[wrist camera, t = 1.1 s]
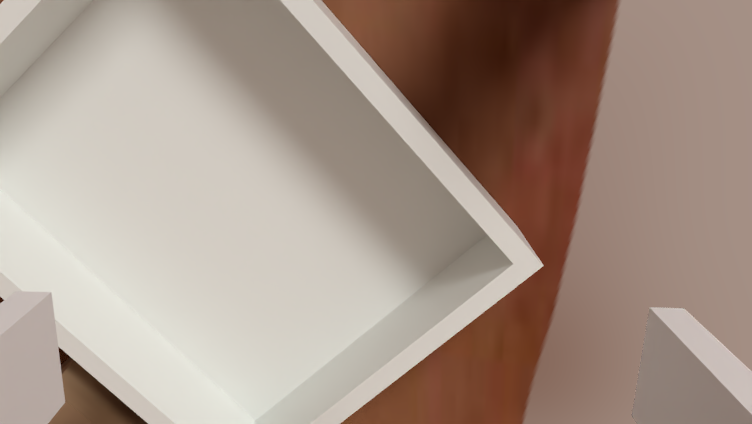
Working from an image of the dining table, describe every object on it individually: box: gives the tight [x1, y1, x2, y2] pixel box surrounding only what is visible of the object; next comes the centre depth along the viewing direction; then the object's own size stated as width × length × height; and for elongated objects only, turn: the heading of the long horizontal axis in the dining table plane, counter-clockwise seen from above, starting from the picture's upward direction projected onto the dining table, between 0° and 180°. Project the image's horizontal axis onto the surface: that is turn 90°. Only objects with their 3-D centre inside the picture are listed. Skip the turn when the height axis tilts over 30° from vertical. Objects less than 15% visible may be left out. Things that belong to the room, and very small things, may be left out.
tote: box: [0, 0, 544, 424], centre depth 32 cm, size 24×20×6 cm
